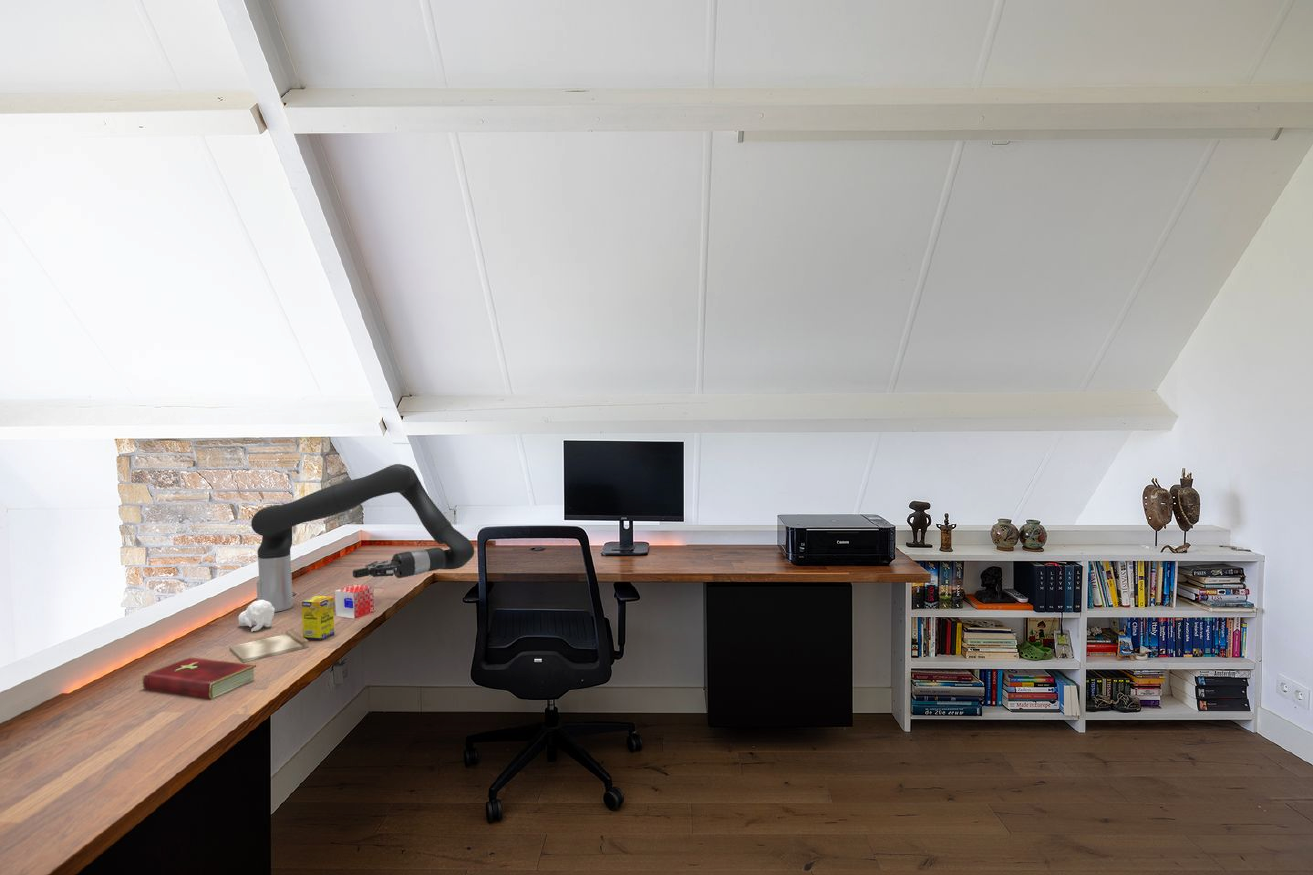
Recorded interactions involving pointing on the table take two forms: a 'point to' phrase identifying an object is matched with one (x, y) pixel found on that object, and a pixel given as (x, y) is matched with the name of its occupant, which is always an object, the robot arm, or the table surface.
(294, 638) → the board
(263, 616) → the white figurine
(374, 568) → the robot arm
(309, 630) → the supplement box
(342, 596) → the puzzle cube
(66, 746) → the table surface
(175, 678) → the hardcover book
